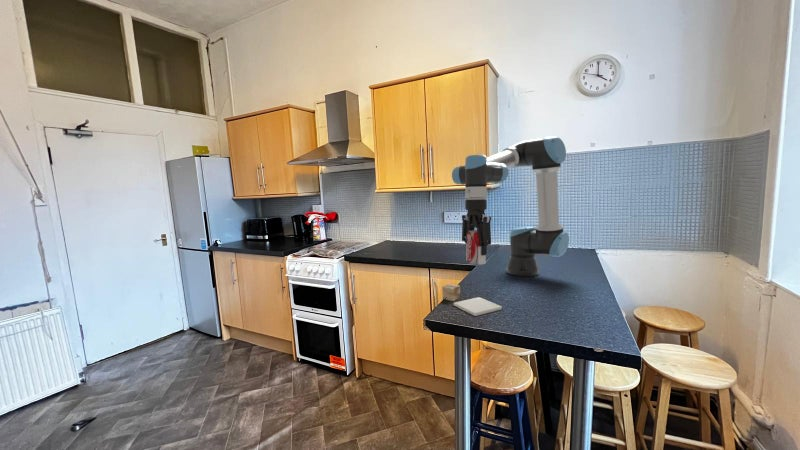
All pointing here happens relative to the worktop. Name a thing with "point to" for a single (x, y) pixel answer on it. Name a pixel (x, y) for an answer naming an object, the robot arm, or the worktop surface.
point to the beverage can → (472, 247)
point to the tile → (477, 306)
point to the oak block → (451, 292)
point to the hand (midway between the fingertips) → (475, 262)
